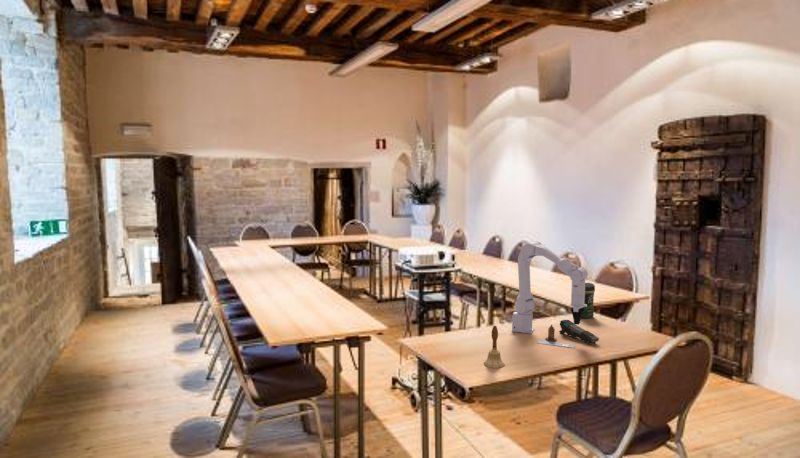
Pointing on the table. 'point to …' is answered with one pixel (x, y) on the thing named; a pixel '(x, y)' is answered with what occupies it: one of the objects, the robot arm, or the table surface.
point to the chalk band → (556, 344)
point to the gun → (577, 332)
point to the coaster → (551, 340)
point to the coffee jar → (588, 301)
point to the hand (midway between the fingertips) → (576, 323)
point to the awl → (551, 333)
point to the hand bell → (494, 352)
